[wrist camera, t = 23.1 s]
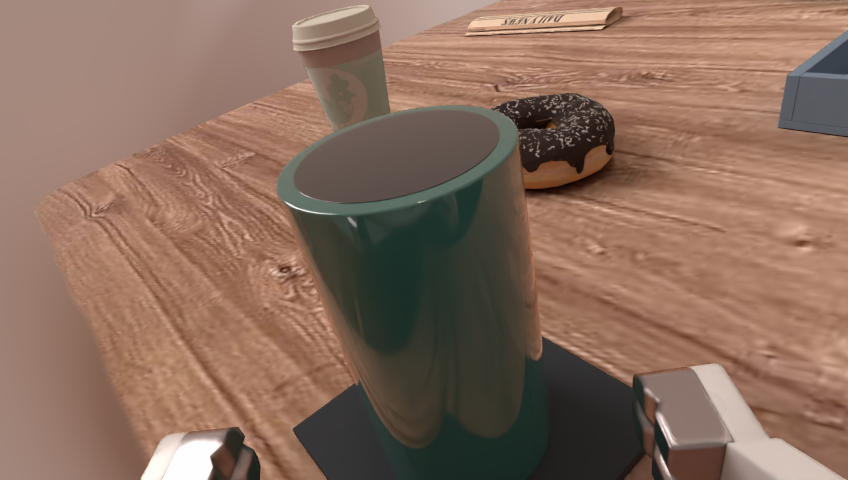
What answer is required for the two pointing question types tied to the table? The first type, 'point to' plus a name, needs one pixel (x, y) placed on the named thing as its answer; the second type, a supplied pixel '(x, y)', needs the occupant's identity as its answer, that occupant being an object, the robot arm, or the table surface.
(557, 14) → the newspaper
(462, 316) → the teal cup
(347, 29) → the coffee cup
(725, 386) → the robot arm
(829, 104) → the tray
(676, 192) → the table surface
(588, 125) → the donut
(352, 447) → the mat
